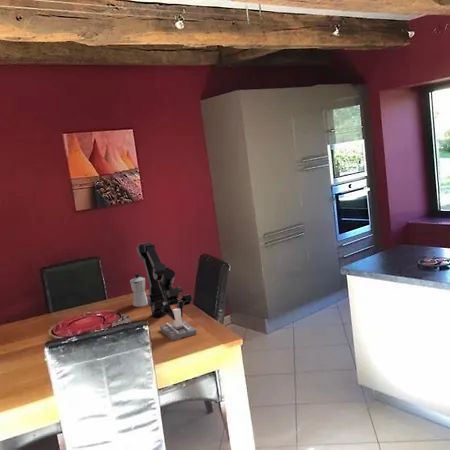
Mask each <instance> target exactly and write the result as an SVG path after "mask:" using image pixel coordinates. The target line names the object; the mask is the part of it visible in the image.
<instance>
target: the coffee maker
mask: <svg viewBox="0 0 450 450" xmlns="http://www.w3.org/2000/svg"><path fill="white" fill-rule="evenodd" d="M134 276H135V277H134V278H132V279H130V280H129V283H130V287H131V290H132V292H133V293H132V294H133V295H132V306H133V307H135V308H142V307H144V306H145V307H146V306H148V302H147V300H148V297H147V294H146V278H145V277H143V276H142V275H141V276H140V273H139V272H136V273H134Z"/></svg>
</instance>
